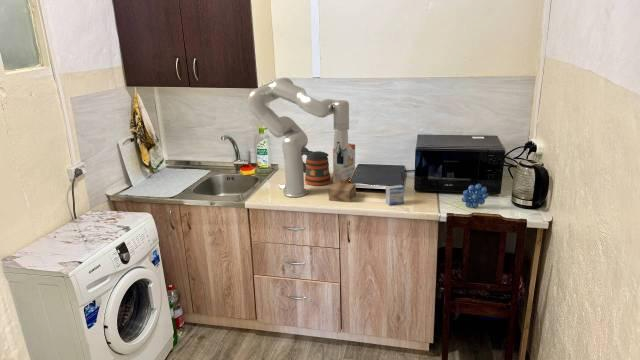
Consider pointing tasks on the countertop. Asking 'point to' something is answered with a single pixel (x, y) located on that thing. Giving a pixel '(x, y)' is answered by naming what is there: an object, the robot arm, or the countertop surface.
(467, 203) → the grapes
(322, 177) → the beer stein
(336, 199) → the walnut block
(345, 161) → the slate box
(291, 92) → the robot arm
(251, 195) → the countertop surface
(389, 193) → the medicine box
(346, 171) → the cracker box
